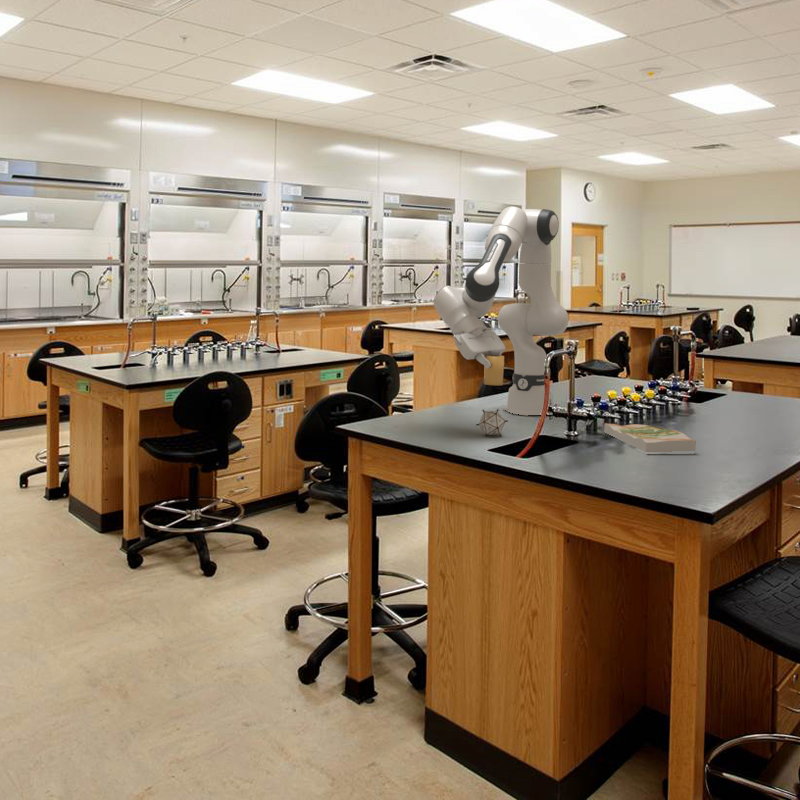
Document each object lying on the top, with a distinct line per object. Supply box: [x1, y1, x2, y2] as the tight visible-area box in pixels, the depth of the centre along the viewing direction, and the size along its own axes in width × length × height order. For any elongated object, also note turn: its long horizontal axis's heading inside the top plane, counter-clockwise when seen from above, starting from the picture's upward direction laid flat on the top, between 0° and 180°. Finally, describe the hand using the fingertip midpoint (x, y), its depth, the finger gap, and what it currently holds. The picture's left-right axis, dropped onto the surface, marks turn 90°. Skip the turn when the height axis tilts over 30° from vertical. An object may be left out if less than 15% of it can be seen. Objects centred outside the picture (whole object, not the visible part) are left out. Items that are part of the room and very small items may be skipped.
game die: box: [475, 408, 509, 438], centre depth 238 cm, size 9×8×10 cm
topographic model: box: [603, 422, 697, 452], centre depth 233 cm, size 30×14×5 cm, turn 8°
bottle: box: [483, 350, 505, 386], centre depth 235 cm, size 6×6×10 cm
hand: (496, 366), depth 235 cm, fingers closed on bottle, 6 cm apart
